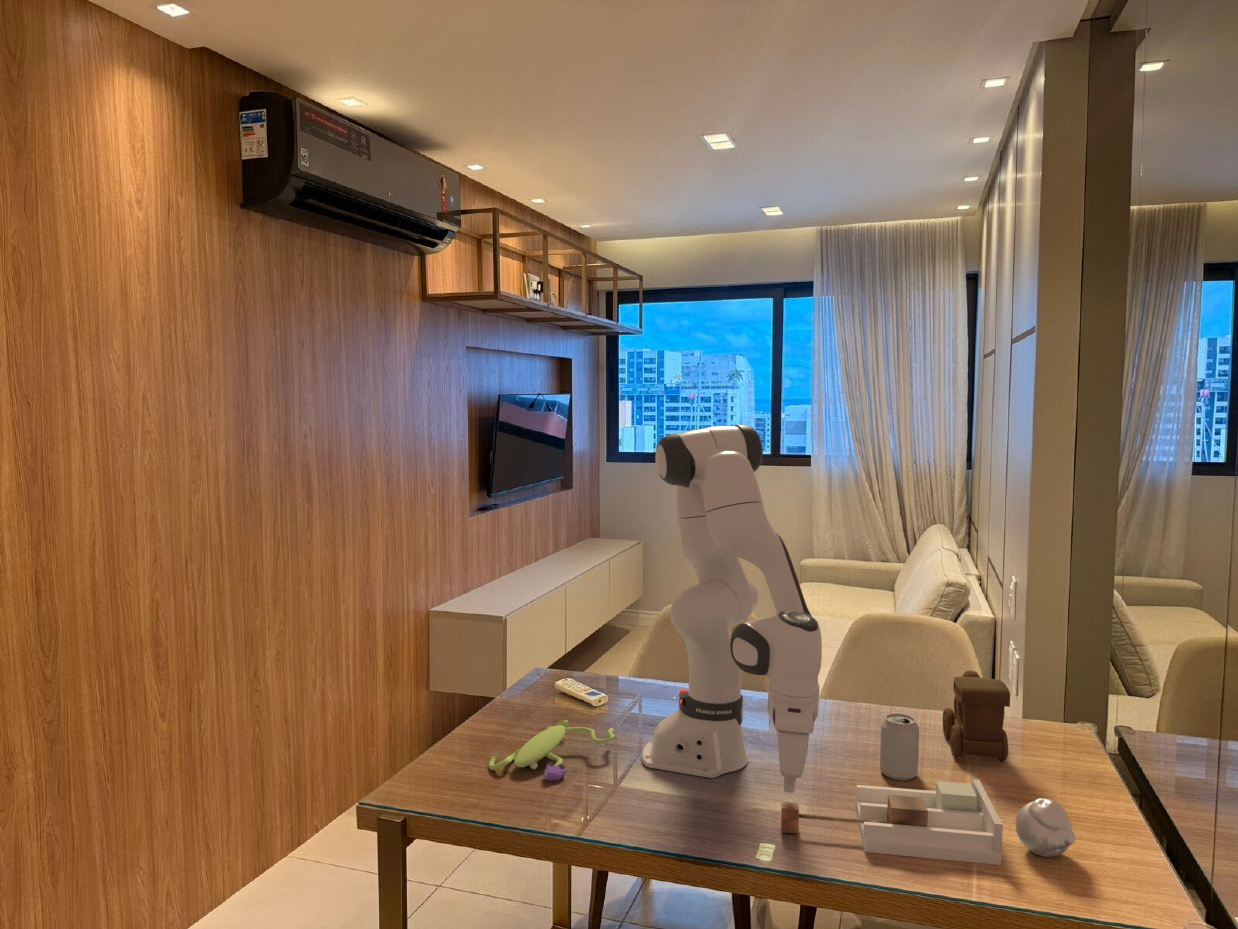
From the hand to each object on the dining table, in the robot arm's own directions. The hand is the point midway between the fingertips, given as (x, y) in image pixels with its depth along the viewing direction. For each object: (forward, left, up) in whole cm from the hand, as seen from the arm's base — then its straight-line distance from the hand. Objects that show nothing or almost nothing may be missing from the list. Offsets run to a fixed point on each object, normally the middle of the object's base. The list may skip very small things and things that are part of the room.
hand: (788, 778), depth 155 cm
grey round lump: (+43, -1, -10) cm, 44 cm away
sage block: (+30, +6, -7) cm, 31 cm away
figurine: (-49, +22, -10) cm, 55 cm away
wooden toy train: (+41, +43, -10) cm, 60 cm away
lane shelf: (+24, +3, -9) cm, 26 cm away
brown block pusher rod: (+11, -1, -9) cm, 14 cm away
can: (+23, +27, -10) cm, 37 cm away
